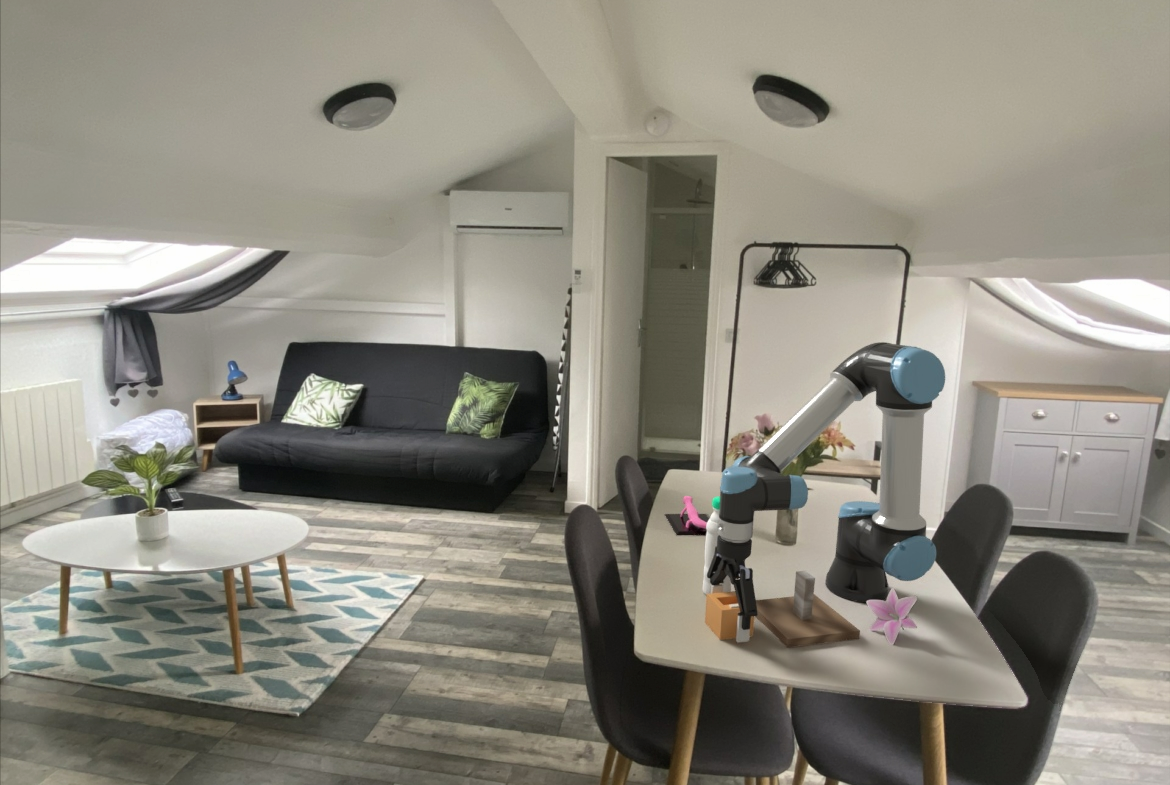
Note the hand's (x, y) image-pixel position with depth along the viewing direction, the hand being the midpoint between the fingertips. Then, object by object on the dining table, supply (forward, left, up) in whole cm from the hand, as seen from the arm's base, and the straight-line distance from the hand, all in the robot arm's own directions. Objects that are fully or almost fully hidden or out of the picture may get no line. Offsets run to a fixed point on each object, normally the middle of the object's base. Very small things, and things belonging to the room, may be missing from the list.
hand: (728, 625), depth 157 cm
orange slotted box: (0, 0, -1) cm, 1 cm away
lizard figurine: (-19, -64, -2) cm, 67 cm away
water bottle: (-5, -17, -1) cm, 18 cm away
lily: (-36, +9, -1) cm, 37 cm away
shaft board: (-18, +1, -1) cm, 18 cm away
